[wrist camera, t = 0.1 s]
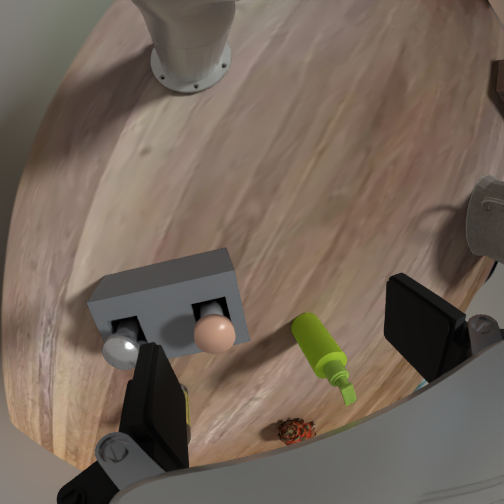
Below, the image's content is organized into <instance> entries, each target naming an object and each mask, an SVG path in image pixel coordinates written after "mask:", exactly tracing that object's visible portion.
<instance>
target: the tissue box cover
mask: <svg viewBox="0 0 504 504" xmlns="http://www.w3.org/2000/svg"><path fill="white" fill-rule="evenodd" d="M496 92H497V94H498V95H499V97H500V98H501V100H502V101H503V103H504V60H499V64H498V75H497V84H496Z"/></svg>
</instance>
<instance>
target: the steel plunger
mask: <svg viewBox="0 0 504 504" xmlns="http://www.w3.org/2000/svg"><path fill="white" fill-rule="evenodd" d="M139 328H140V325H139V323H138V321H137V320H136V319H135V318H133V317H127V318H122V319H121V321H120V324H119V326H118V329H117V332H116V333H115V334H112V335H110V336H108V337H107V339H106V341H105V343H104V346H103V349H102V352H103V356H104V358H105V360H106V361H107V362H108V363H109V364H110V365H112V366H113V367H115V368H118V369H121V370H129V369H132V368H134V367H135V366H136V362H137V357H138V352H139V348H140V346H139V344H138V343H137V341H136V340H137V336H138V332H139Z"/></svg>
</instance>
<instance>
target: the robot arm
mask: <svg viewBox="0 0 504 504" xmlns="http://www.w3.org/2000/svg"><path fill="white" fill-rule="evenodd" d="M131 1H132V2H133V3H134V4H135V5H136V6H137V7H138V8H139V10H140V11H141V13H142V15H143V17H144V19H145V22H146V25H147V27H148V30H149V33H150V36H151V39H152V42H153V44H154V48H153V50H152V53H151V58H150V60H151V68H152V72H153V74H154V76H155V77H156V79H157V80H158V81H159V82H160V83H161V84H162V85H163V86H165V87H166V88H168V89H170V90H173V91H175V92H181V93H194V92H200V91H203V90H206V89H208V88H210V87H212V86H213V85H215V84H216V83H218V82H219V81H220V80H221V79H222V78H223V77H224V75H225V74H226V72H227V70H228V68H229V66H230V62H231V49H230V46H229V43H228V41H227V38H228V35H229V32H230V28H231V25H232V22H233V19H234V15H235V1H239V0H131ZM222 66H224V67H225V68H222ZM163 77H164V79H163V80H162V79H161V78H163ZM195 86H197V89H195V88H194V87H195ZM465 318H466V314H464V313H463V312H461V311H460V310H459V309H457V308H456V307H454V306H453V305H451V304H450V303H448V302H447V301H445V300H444V299H442V298H441V297H439V296H438V295H436V294H435V293H433V292H432V291H430V290H429V289H427V288H426V287H424V286H423V285H421V284H420V283H418V282H417V281H415V280H413V279H412V278H410V277H409V276H407V275H406V274H404V273H399V274H396V275H393V276H391V277H390V278H389V281H387V284H386V305H385V321H384V336H385V338H386V339H387V340H388V341H389V342H390V343H391V344H392V345H393V347H394V348H395V349H396V350H397V351H398V352H399V353H400V354H401V355H402V356H403V357H404V358H405V359H406V360H407V361H408V362H409V363H410V364H411V365H412V366H413V367H414V368H415V369H416V370H417V371H418V372H419V373H420V375H421V376H422V377H423V378H424V379H425V380H426V381H427V382H428V383H429V384H428V385H426V386H424V387H422V388H421V389H419V390H417V391H415V392H413V393H412V394H410V395H408V396H406V397H404V398H402V399H400V400H399V401H397V402H395V403H393V404H391V405H389V406H387V407H385V408H383V409H381V410H378V411H376V412H374V413H372V414H370V415H368V416H365V417H363V418H361V419H359V420H356V421H354V422H352V423H349V424H347V425H344V426H342V427H339V428H337V429H334V430H332V431H329V432H326V433H324V434H321V435H318V436H315V437H312V438H309V439H306V440H303V441H300V442H297V443H294V444H291V445H288V446H284V447H281V448H277V449H274V450H270V451H266V452H262V453H258V454H254V455H250V456H246V457H242V458H237V459H233V460H228V461H223V462H218V463H212V464H207V465H201V466H196V467H190V468H189V457H188V441H187V421H186V398H185V394H184V391H183V389H182V387H181V385H180V383H179V381H178V379H177V377H176V375H175V373H174V371H173V369H172V367H171V365H170V363H169V360H168V358H167V356H166V354H165V352H164V349H163V347H162V346H161V345H157V344H156V343H155V342H150V343H145V344H141V345H140V348H139V352H138V357H137V362H136V366H135V371H134V376H133V379H132V380H129V381H128V384H127V388H126V393H125V398H124V404H123V409H122V415H121V420H120V426H119V432H113V433H109V434H107V435H105V436H104V437H103V438H101V439H100V440H99V442H98V443H97V445H96V448H95V456H96V459H97V461H96V462H94V463H93V464H92V465H91V466H89V467H88V468H87V469H85V470H84V471H83V472H81V473H80V474H79V475H78V476H76V477H75V478H74V479H72V480H71V481H70V482H68V483H67V484H66V485H64V486H63V487H62V488H61V489H60V490H59V492H58V495H57V504H504V329H499V326H498V323H497V321H496V320H494V319H493V318H492V317H490V316H487V315H481V314H480V315H475V316H472V317H471V318H470V319H469V321H468V322H466V321H465Z"/></svg>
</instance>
